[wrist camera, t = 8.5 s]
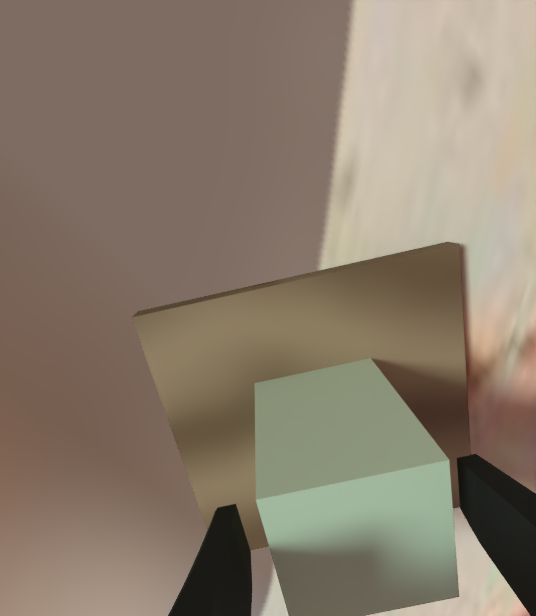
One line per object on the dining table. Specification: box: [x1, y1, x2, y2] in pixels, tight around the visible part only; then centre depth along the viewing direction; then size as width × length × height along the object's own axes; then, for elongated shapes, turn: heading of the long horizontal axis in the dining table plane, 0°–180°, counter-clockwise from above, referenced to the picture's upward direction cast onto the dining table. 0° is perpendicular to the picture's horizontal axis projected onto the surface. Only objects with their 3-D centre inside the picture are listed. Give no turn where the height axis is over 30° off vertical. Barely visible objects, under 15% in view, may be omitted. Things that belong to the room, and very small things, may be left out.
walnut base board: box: [132, 242, 471, 550], centre depth 16 cm, size 13×13×1 cm
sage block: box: [255, 358, 459, 616], centre depth 12 cm, size 5×5×6 cm
